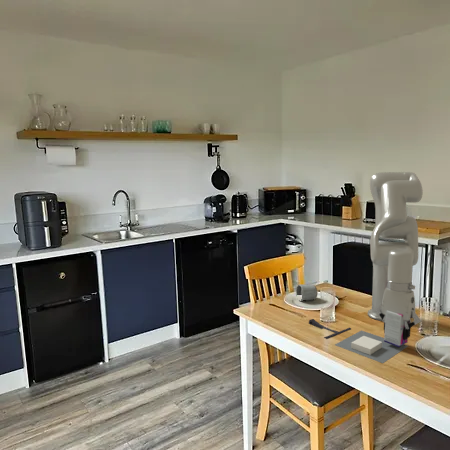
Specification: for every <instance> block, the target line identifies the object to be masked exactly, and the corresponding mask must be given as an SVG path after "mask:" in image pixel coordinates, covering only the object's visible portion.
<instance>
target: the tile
mask: <svg viewBox="0 0 450 450" xmlns="http://www.w3.org/2000/svg"><path fill="white" fill-rule="evenodd" d="M351 348H353V349H355V350H358V351H361V352H363V353H366V354H369V355H371V354H372V353H374V352H376V351H377V350H379V349H380V348H382V342H381V341H378V340H375V339H372V338H369V337H366V336H362V337H360V338H359V339H357V340H355V341H353V342H351Z"/></svg>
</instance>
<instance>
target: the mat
mask: <svg viewBox="0 0 450 450" xmlns="http://www.w3.org/2000/svg"><path fill="white" fill-rule="evenodd" d="M362 336H366V337H369V338H372V339H375V340H378V341H381V342H382V348H380V349H379V350H377V351H376V352H374V353H372V354H371V355H369V354H366V353H363V352H361V351H358V350H355V349H353V348H351V342H353V341H355V340H357V339H359V338H360V337H362ZM334 346H336V347H339V348H342V349H345V350H347V351H349V352H351V353H355V354H358V355H359V356H362V357H365V358H367V359H370V360H373V361H375V362H378V363H381V364H384V363H386V362H387V361H390V359H391V358H393V357H395V356H396V355H398V354H399V353H400V352H402V351H404V349H406V348H408V347H409V345H408V344H403V345H401V346H400V347H397V346H394V345H392V344H389V343H386V342H384V337H382V336H380V335H376V334H374V333H371V332H367V331H366V330H365V331H364V330H362V329H361V330H359V331H358V332H356V333H354V334H352V335H350V336H348V337H347V338H344V339H343V340H341V341H339V342H337V343H335V344H334Z"/></svg>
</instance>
